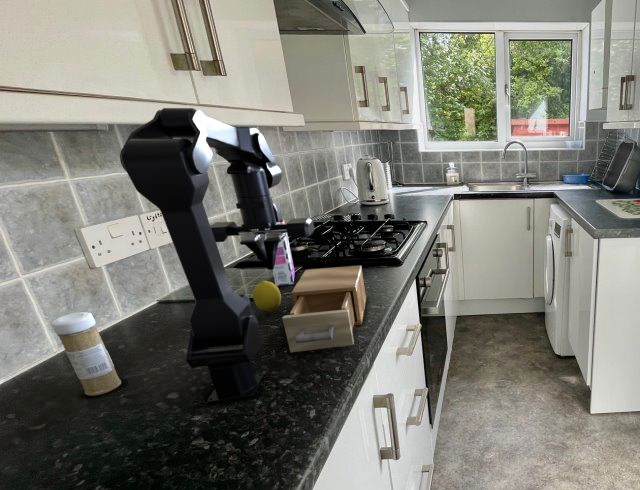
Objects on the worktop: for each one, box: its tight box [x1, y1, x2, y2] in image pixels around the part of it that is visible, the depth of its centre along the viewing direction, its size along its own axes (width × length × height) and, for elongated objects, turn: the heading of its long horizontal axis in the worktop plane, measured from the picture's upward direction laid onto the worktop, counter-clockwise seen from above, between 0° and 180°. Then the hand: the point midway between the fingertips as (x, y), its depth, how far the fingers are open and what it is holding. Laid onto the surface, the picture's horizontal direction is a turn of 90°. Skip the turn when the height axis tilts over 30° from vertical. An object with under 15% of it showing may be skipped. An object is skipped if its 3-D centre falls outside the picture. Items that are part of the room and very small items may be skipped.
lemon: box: [252, 280, 282, 313], centre depth 95 cm, size 6×6×8 cm
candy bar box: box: [264, 218, 296, 287], centre depth 114 cm, size 11×5×16 cm, turn 25°
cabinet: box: [291, 265, 367, 326], centre depth 94 cm, size 15×13×9 cm
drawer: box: [282, 291, 356, 353], centre depth 82 cm, size 18×11×7 cm, turn 14°
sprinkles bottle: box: [50, 311, 122, 397], centre depth 66 cm, size 5×5×13 cm
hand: (271, 269), depth 87 cm, fingers closed
